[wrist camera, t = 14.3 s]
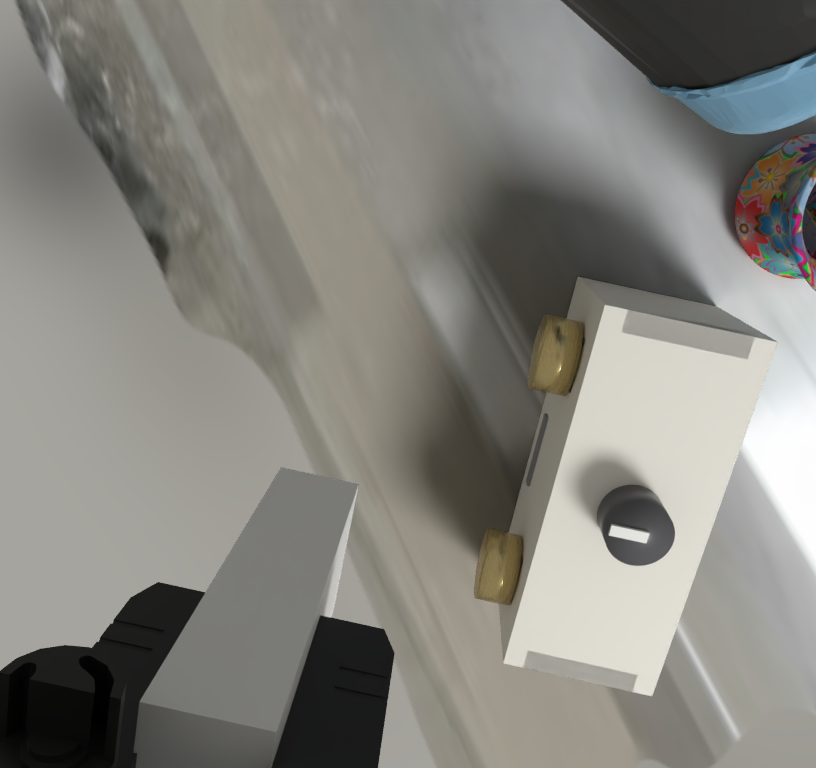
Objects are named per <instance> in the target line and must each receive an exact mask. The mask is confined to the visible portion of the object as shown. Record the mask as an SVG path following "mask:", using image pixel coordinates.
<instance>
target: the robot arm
mask: <svg viewBox="0 0 816 768" xmlns="http://www.w3.org/2000/svg"><path fill="white" fill-rule="evenodd" d="M561 1H562V2H563V3H564V4H565V5H567V6H568V7H569V8H570V9H571V10H572V11H573V12H574V13H576V14H577V15H578V16H579V17H580V18H581V19H582V20H584V21H585V22H586V23H587V24H588V25H589V26H590V27H591V28H593V29H594V30H595V31H596V32H597V33H598V34H599V35H600V36H602V37H603V38H604V39H605V40H606V41H607V42H608V43H609V44H611V45H612V46H613V47H614V48H615V49H616V50H617V51H618V52H620V53H621V54H622V55H623V56H624V57H625V58H626V59H627V60H629V61H630V62H631V63H632V64H633V65H634V66H635V67H636V68H638V69H639V70H640V71H641V72H642V73H643V74H644V75H646V77H647V79H648V81H649V83H650V84H651V85H652V86H653V87H654V88H658V89H659V90H660V92H661V93H663V94H665V95H668V96H671V97H675V98H677V99H678V100H679V101H681V102H682V103H683V104H685V105H686V106H687V107H689V108H690V109H691V110H692V111H694V112H695V113H696V114H698V115H699V116H700V117H702V118H703V119H704V120H705V121H707V122H708V123H709V124H711V125H712V126H714V127H716V128H718V129H721V130H723V131H726V132H730V133H734V134H760V133H766V132H771V131H775V130H779V129H783V128H786V127H789V126H792V125H794V124H797V123H799V122H801V121H804V120H806V119H808V118H811V117H813V116H815V115H816V0H561ZM358 485H359V484H355V483H351V482H346V481H342V480H337V479H332V478H328V477H323V476H319V475H314V474H309V473H305V472H300V471H295V470H291V469H286V468H280V470H279V472H278V473H277V475H276V477H275V478H274V480H273V482H272V483H271V485H270V487H269V488H268V490H267V492H266V493H265V495H264V497H263V498H262V500H261V502H260V503H259V505H258V507H257V508H256V510H255V512H254V513H253V515H252V516H251V518H250V520H249V521H248V523H247V525H246V526H245V528H244V530H243V531H242V533H241V535H240V536H239V538H238V540H237V541H236V543H235V545H234V546H233V548H232V550H231V551H230V553H229V555H228V556H227V558H226V560H225V561H224V563H223V565H222V566H221V568H220V569H219V571H218V573H217V574H216V576H215V578H214V579H213V581H212V583H211V584H210V586H209V588H208V589H207V591H206V593H205V592H201V591H196V590H191V589H187V588H182V587H178V586H173V585H168V584H164V583H159V582H158V583H156V584H154V585H152V586H151V587H149V588H147V589H145V590H143V591H142V592H140V593H138V594H136V595H135V596H133V597H131V598H130V599H129V601H128V602H127V603H126V605H125V606H124V607H123V608H122V610H121V611H120V613H119V614H118V615H117V616H116V618H115V619H114V622H113V624H110V625H109V627H108V628H107V629H106V631H105V632H104V633H103V634H102V636H101V637H100V640H99V642H96V644H95V645H94V646H93V647H92V648H89V647H79V646H67V645H64V646H57V647H50V648H44V649H39V650H36V651H34V652H31V653H29V654H26V655H24V656H21V657H19V658H17V659H15V660H14V661H12V662H11V663H10V664H8V665H7V666H6V667H5V668H3V669H2V670H1V671H0V768H378V762H379V755H380V748H381V742H382V734H383V727H384V721H385V714H386V707H387V699H388V694H389V686H390V679H391V673H392V665H393V659H394V651H393V649H392V646H391V644H390V642H389V640H388V637H387V635H386V633H385V630H384V629H380V628H375V627H371V626H367V625H362V624H357V623H353V622H348V621H344V620H339V619H335V618H331V617H332V613H333V610H334V605H335V600H336V595H337V591H338V585H339V581H340V576H341V570H342V566H343V561H344V556H345V551H346V546H347V541H348V536H349V530H350V525H351V520H352V515H353V510H354V505H355V500H356V495H357V490H358Z"/></svg>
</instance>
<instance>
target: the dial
mask: <svg viewBox="0 0 816 768" xmlns="http://www.w3.org/2000/svg"><path fill="white" fill-rule="evenodd" d="M597 520H598V524H599V527H600V530H601V533H602V535H603V538H604V541H605V544H606V546H607V548H608V550H609V552H610V553H611V555H612V556H613V557H614V558H616V559H617V560H619V561H620V562H622V563H625V564H628V565H633V566H644V565H649V564H652V563H654V562H657V561H658V560H660V559H661V558H663V557H664V556H665V555H666V554H667V553H668V552H669V550H670V549H671V547H672V545H673V542H674V539H675V528H674V524H673V522H672V520H671V518H670V516H669V515H668V513H667V511H666V509H665V508H664V506H663V504H662V502H661V501H660V499H659V498H658V496H657V495H656V494H655V493H654V492H653V491H651V490H650V489H648V488H646V487H643V486H640V485H624V486H620V487H618V488H615V489H613V490H612V491H610V492H609V493H608V494H607V495H606V496H605V497H604V498H603V499H602V501H601V503H600V505H599V507H598V511H597Z"/></svg>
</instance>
